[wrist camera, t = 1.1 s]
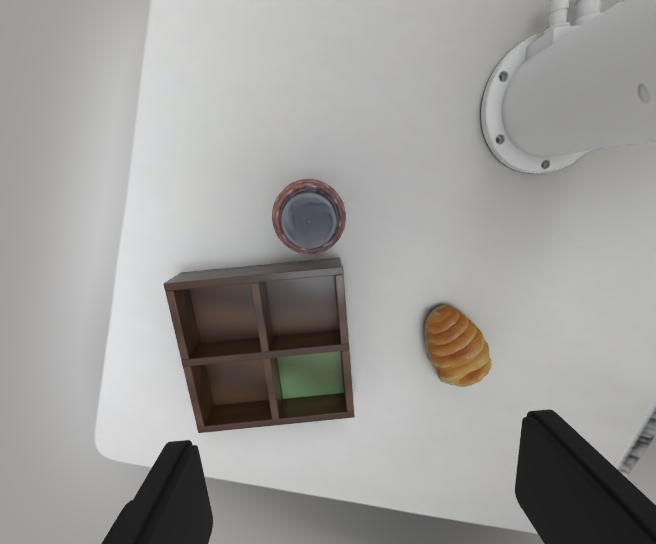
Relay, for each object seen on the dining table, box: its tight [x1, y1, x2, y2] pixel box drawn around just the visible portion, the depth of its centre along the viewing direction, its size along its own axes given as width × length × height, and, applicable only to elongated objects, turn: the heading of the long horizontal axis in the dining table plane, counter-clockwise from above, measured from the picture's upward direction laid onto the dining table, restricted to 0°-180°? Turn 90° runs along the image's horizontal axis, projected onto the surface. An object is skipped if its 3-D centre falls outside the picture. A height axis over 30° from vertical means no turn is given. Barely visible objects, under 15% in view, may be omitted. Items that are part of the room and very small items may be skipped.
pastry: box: [424, 305, 492, 387], centre depth 36 cm, size 9×7×4 cm
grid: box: [164, 258, 354, 433], centre depth 35 cm, size 17×17×4 cm
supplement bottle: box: [272, 179, 346, 254], centre depth 28 cm, size 6×6×11 cm
